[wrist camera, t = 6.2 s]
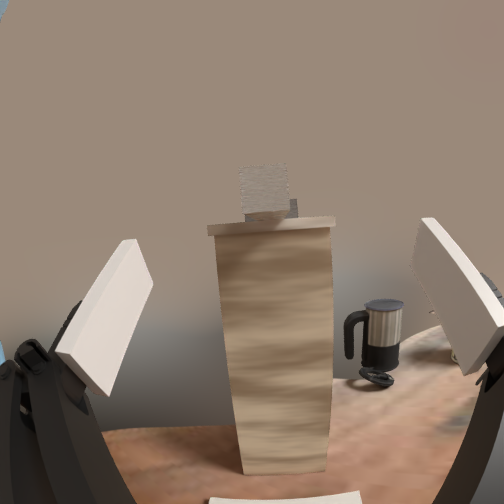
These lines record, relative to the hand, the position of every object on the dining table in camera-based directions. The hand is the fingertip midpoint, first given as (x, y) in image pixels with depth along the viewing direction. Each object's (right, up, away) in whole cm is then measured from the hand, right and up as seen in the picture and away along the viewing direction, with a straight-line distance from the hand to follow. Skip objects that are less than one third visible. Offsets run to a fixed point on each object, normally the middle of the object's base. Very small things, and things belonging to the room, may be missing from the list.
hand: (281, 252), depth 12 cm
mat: (+2, -31, -2) cm, 31 cm away
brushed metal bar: (0, +3, +14) cm, 14 cm away
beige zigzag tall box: (+4, -29, +22) cm, 37 cm away
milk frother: (+27, -26, +41) cm, 56 cm away
